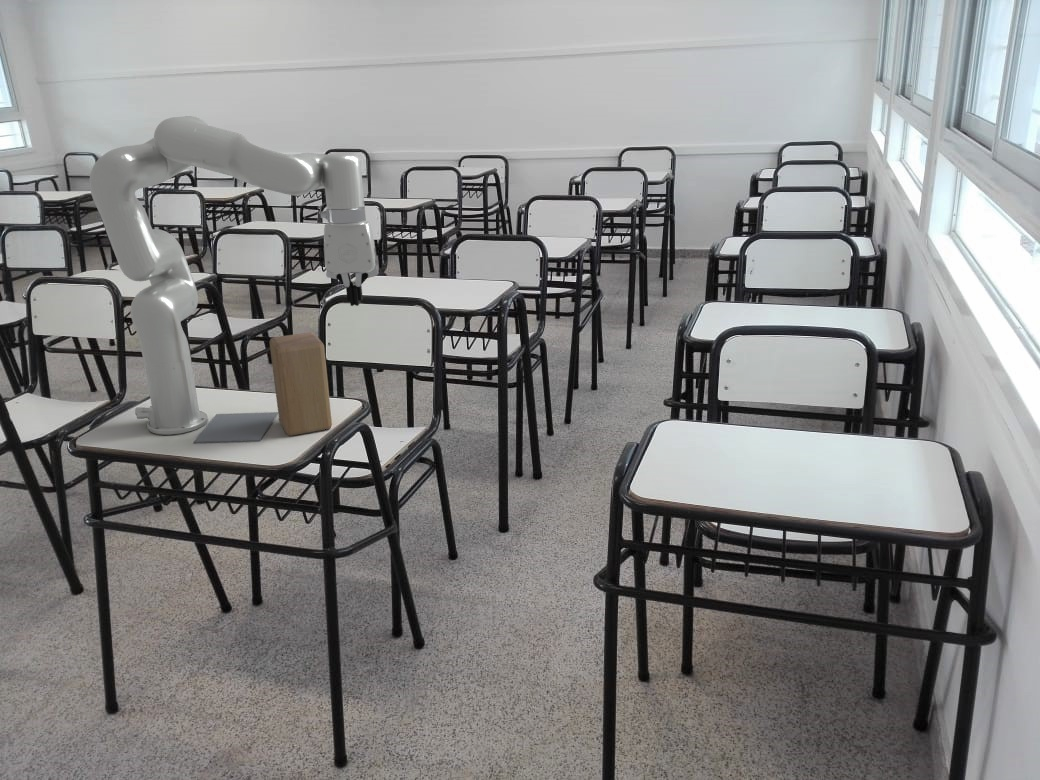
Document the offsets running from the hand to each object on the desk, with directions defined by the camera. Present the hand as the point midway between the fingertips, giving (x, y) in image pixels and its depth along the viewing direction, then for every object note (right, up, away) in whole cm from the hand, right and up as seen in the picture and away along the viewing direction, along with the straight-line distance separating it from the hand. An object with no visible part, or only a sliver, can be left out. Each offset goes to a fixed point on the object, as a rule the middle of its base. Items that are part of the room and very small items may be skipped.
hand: (355, 304), depth 178 cm
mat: (-28, -26, +9) cm, 39 cm away
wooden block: (-13, -26, +9) cm, 31 cm away
